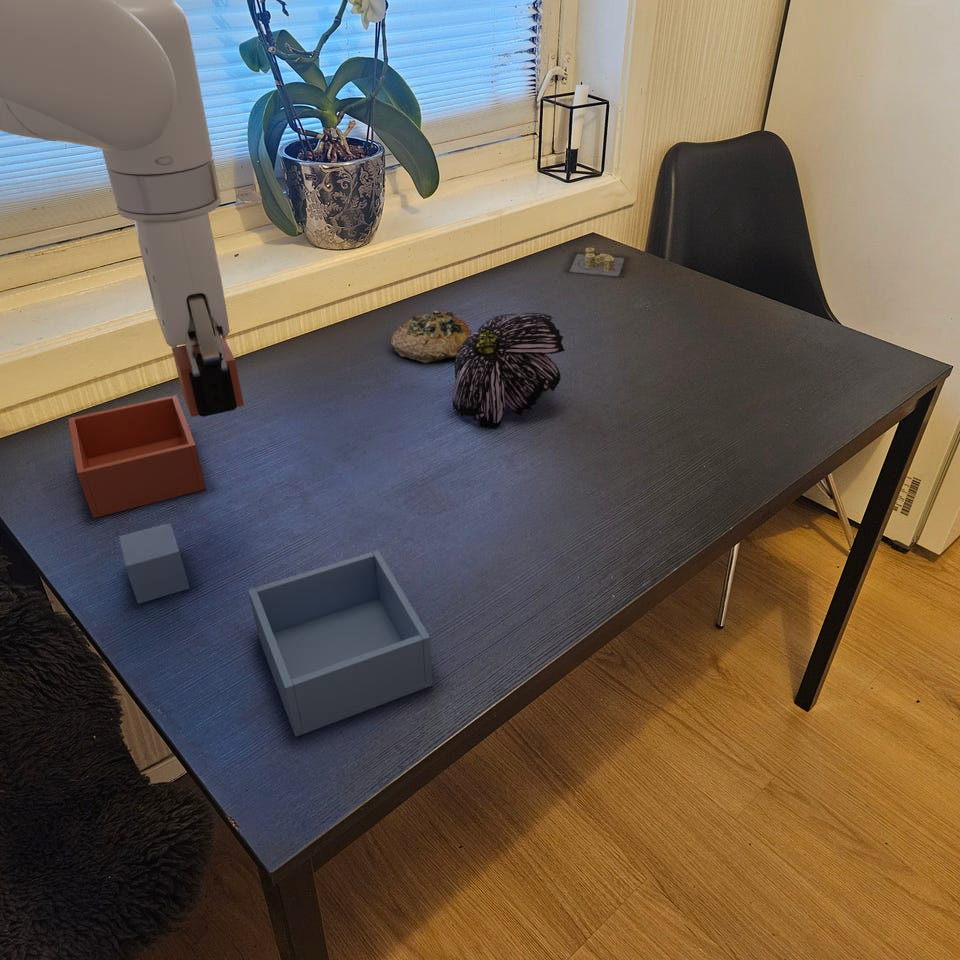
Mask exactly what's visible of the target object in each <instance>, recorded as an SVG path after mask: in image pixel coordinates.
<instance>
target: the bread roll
mask: <svg viewBox="0 0 960 960" xmlns="http://www.w3.org/2000/svg"><path fill="white" fill-rule="evenodd" d="M470 335H472V330H471V328H470V327H469V326H468V325H467V323H466V321H465V320H463V319H461V317H460V318H459V317H457V316H455V315H454V314H453V312H452V311H451V310H447V311H443V312H440V311H439V310H434V311H433V312H432V313H425V314H420V315H413V316H412V317H410V318H409V320H407V321H406V322H405V323H404V324H403V325H400V326H399V327H398V328H397V329H396V330H395V331H394V332H393V334H392V337H391V339H390V341H391V343H390V344H391V345H392V348H393V350H394V351H395V352H396V353H397V354H398V355H399V356H400V357H402V358H403V357H404V358H409V359H411V360H416V361H419V362H421V363H424V364H427V363H430V362H431V363H432V362H437V361H442V360H444V359H447V358H456V357H457V354H458V351H459V349H460V347H461V345H462V344H463V342H464V341H465V340H466V339H467V338H468V337H469V336H470Z"/></svg>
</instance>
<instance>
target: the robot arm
mask: <svg viewBox="0 0 960 960" xmlns="http://www.w3.org/2000/svg"><path fill="white" fill-rule="evenodd" d="M191 33H192V32H191V29H190V25H189V21H188V18H187V15H186V13H185V11H184V9H182V7H181V6H180V5H179V4H178V3H177V2H176V1H175V0H0V131H1V132H4V133H7V134H10V135H15V136H21V137H26V138H32V139H37V140H44V141H50V142H60V143H65V144H73V145H79V146H85V147H91V148H96V149H101V151H102V155H103V159H104V163H105V166H106V171H107V174H108V179H109V183H110V186H111V190H112V194H113V198H114V201H115V205H116V209H117V212H118V214H119V215H120V216H121V217H122V218H125V219H127V220H131V221H134V225H135V232H136V237H137V241H138V245H139V251H140V255H141V259H142V263H143V267H144V271H145V276H146V279H147V283H148V288H149V291H150V296H151V300H152V307H153V309H154V314H155V317H156V319H157V322H158V325H159V327H160V331H161V333H162V335H163V338H164V341H165V343H166V345H168V346H169V347H171V349H172V348H177V347H180V346H185V345H186V349H187V353H188V357H189V361H190V365H191V369H192V373H189V376H190V380H191V385H192V389H193V393H194V398H195V402H196V406H197V410H198V413H199V415H198V416H200V417H202V418H205V417H209V416H214V415H218V414H223V413H226V412H232V411H235V410H236V409H237V408H238V407H237V404H236V399H235V394H234V389H233V384H232V379H231V374H230V369H229V366H228V365H227V363H226V359H225V354H224V350H223V346H222V341H221V339H222V338H223V339H224V338H225V339H226V338H227V337H228V335H229V334H230V325H229V318H228V311H227V304H226V298H225V292H224V287H223V286H224V285H223V282H222V275H221V271H220V266H219V265H220V264H219V260H218V254H217V250H216V245H215V240H214V234H213V231H212V230H213V229H212V225H211V220H210V215H209V213H211V212H212V211H215V210H217V208H219V207H220V205H221V204H222V199H221V194H220V192H221V191H220V188H219V187H220V186H219V182H218V176H217V170H216V165H215V160H214V156H213V149H212V144H211V137H210V134H209V127H208V122H207V117H206V112H205V106H204V101H203V95H202V89H201V84H200V79H199V78H200V77H199V72H198V68H197V67H198V66H197V62H196V56H195V51H194V45H193V40H192V34H191ZM195 346H199V348H200V353H197V357H196V355H195V350H194V347H195Z"/></svg>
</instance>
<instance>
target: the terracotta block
mask: <svg viewBox="0 0 960 960" xmlns="http://www.w3.org/2000/svg"><path fill="white" fill-rule="evenodd" d="M221 341H222V346H223V350H224V354H225V359H226V363H227V365H228V366H229V369H230V374H231V379H232V384H233V389H234V394H235V399H236V404H237V407H236V408H240V407H243V406H245V404H244V398H243V393H242V388H241V382H240V377H239V373H238V372H239V371H238V367H237V362H236V359H235V356H234V354H233V353H232V350H231V347H230V346H229V344H228V342H227V340H226V338H224V339H223V338H222V337H221ZM184 345H185V344H184ZM184 345H179V346H180V347H179V346H177V348H172V347H171V351H172V356H173V359H174V360H173V361H174V363H175V368H176V372H177V376H178V380H179V384H180V388H181V392H182V395H183V399H184V401H185V404H186V407H187V410H188V413H189V415H190V417H191V418H194V417H198V416H200V415H199V413H198V410H197V406H196V402H195V398H194V393H193V389H192V385H191V380H190V376H189V373H192V369H191V365H190V361H189V357H188V353H187V349H186V345H185V346H184ZM194 350H195V355H196V357H197V353H200V348H199V346H195V347H194Z"/></svg>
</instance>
